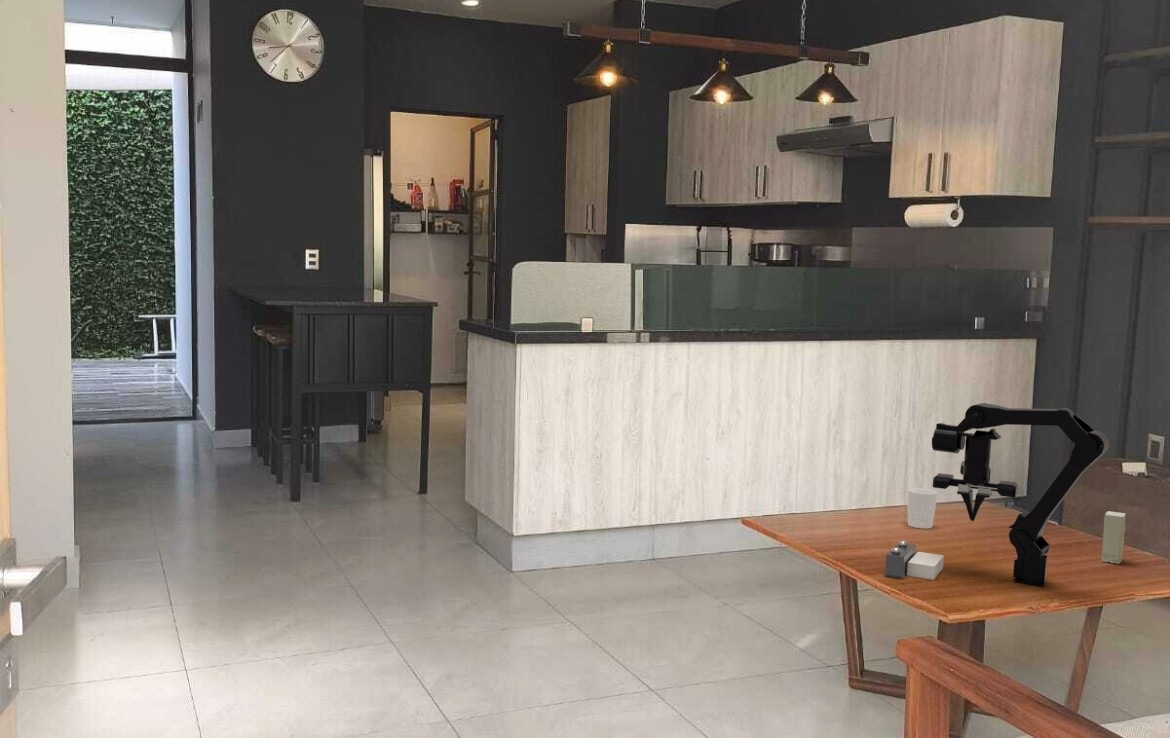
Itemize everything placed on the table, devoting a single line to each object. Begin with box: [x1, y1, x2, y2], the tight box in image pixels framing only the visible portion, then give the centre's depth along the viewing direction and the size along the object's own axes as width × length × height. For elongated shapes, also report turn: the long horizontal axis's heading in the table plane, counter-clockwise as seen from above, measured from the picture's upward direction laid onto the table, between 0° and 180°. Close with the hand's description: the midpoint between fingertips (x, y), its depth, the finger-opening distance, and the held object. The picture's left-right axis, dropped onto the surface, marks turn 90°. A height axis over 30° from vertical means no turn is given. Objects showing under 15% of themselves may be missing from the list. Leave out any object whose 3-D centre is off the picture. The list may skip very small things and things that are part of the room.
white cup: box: [906, 487, 938, 530], centre depth 307 cm, size 8×8×10 cm
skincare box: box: [1100, 510, 1127, 565], centre depth 276 cm, size 6×4×12 cm
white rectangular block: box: [906, 551, 945, 581], centre depth 258 cm, size 6×12×4 cm, turn 152°
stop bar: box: [884, 540, 917, 579], centre depth 259 cm, size 4×14×6 cm, turn 152°
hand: (972, 520), depth 261 cm, fingers closed
